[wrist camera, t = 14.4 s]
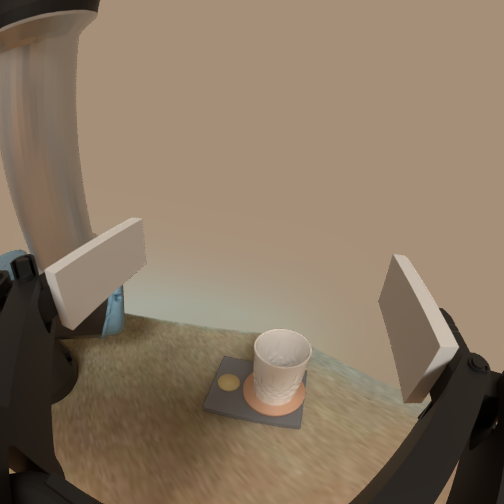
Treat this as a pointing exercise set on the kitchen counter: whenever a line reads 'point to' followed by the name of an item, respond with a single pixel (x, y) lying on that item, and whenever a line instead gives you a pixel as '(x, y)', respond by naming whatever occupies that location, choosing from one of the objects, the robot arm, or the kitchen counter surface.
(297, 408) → the board
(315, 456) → the kitchen counter surface
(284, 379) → the white cup
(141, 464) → the kitchen counter surface
